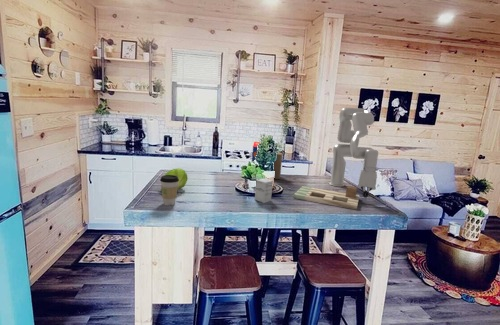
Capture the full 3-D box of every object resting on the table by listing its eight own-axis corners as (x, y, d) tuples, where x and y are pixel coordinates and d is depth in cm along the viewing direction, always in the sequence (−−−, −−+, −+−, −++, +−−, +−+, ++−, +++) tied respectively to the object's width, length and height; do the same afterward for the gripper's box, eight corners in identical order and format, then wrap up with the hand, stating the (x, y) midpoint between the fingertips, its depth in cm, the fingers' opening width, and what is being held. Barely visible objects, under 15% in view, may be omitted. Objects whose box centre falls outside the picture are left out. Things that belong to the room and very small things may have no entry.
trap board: (302, 189, 213) (302, 185, 212) (358, 198, 199) (359, 195, 198) (293, 198, 191) (294, 194, 190) (356, 209, 177) (357, 205, 176)
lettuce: (161, 194, 179) (162, 172, 177) (163, 185, 199) (163, 165, 196) (188, 194, 183) (188, 172, 181) (186, 185, 202) (187, 165, 200)
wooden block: (279, 179, 235) (281, 154, 231) (266, 178, 237) (268, 153, 233) (280, 176, 245) (282, 152, 241) (268, 175, 247) (270, 151, 243)
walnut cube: (346, 194, 198) (347, 185, 197) (355, 195, 196) (357, 187, 195) (345, 196, 193) (346, 187, 192) (355, 198, 191) (356, 189, 190)
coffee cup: (163, 199, 170) (163, 174, 167) (180, 201, 170) (181, 175, 167) (157, 205, 160) (157, 178, 158) (175, 207, 160) (176, 179, 157)
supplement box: (254, 200, 181) (255, 179, 179) (261, 197, 187) (263, 178, 184) (263, 203, 177) (265, 182, 174) (271, 200, 182) (273, 180, 180)
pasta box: (251, 176, 239) (254, 141, 234) (261, 177, 239) (264, 142, 234) (250, 185, 212) (253, 146, 206) (261, 186, 212) (264, 147, 206)
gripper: (382, 169, 188) (377, 197, 192) (357, 166, 194) (353, 193, 197) (382, 172, 182) (377, 201, 185) (356, 168, 187) (352, 196, 191)
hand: (365, 197), depth 191 cm, fingers closed
